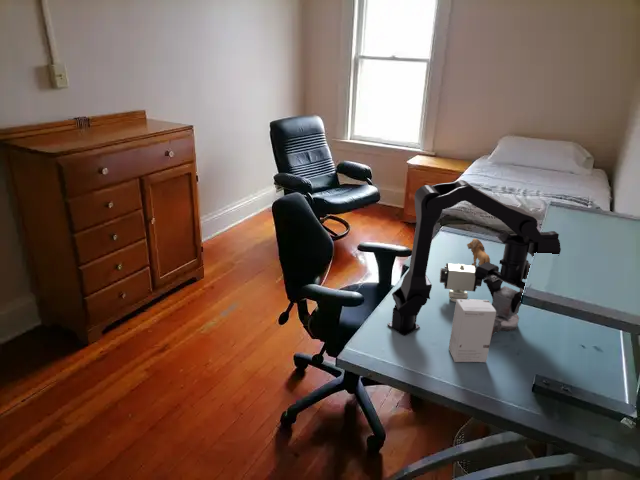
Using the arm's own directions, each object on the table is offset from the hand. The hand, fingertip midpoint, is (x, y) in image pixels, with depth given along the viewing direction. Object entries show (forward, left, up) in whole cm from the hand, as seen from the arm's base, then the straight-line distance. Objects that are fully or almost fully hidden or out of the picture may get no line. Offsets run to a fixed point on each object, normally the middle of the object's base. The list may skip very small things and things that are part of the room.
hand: (505, 308), depth 129 cm
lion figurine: (+24, +24, -5) cm, 34 cm away
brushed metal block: (0, 0, -1) cm, 1 cm away
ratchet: (-6, 0, -5) cm, 8 cm away
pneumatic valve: (+1, +16, -5) cm, 17 cm away
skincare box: (-19, -3, -5) cm, 20 cm away
